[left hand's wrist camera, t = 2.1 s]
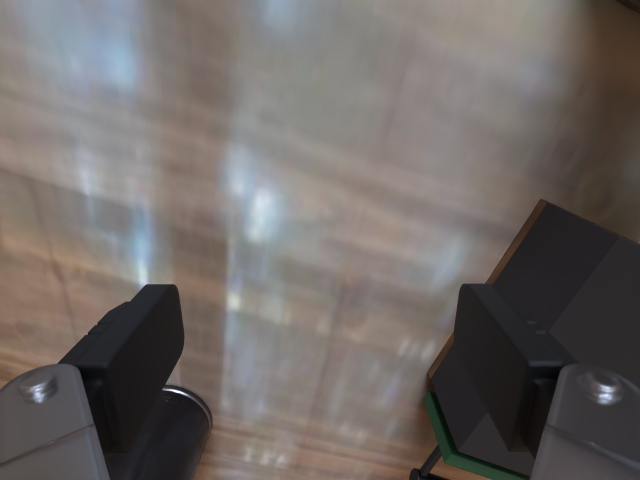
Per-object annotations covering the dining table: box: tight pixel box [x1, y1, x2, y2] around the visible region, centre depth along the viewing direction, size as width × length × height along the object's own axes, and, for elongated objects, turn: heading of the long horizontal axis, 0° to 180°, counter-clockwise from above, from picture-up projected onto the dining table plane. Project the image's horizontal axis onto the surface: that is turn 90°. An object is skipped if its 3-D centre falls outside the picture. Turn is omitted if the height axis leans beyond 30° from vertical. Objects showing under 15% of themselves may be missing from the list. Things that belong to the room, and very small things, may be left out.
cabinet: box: [428, 199, 640, 477], centre depth 34 cm, size 21×11×10 cm, turn 156°
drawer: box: [409, 391, 531, 480], centre depth 36 cm, size 26×10×8 cm, turn 156°
